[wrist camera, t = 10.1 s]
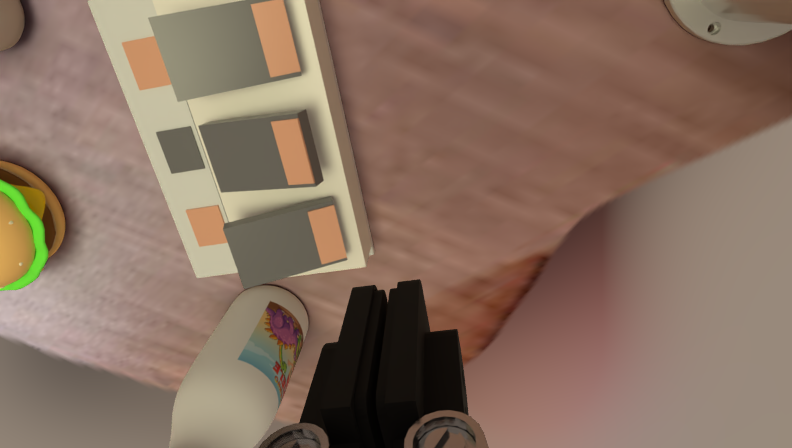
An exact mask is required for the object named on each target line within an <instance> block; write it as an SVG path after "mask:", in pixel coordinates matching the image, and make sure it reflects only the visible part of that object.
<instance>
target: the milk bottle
mask: <svg viewBox="0 0 792 448" xmlns="http://www.w3.org/2000/svg"><path fill="white" fill-rule="evenodd" d="M308 325H309V322H308V316H307V312H306V310H305V308H304V306H303V304H302V303H301V302H300V300H299V299H298V298H297V297H296V296H295V295H293V294H292V293H290V292H289V291H287V290H284V289H282V288H280V287H276V286H270V285H261V286H256V287H252V288H249V289H247V290H245V291H243V292H242V293H241V294H240V295H238V297H237V298H236V299H235V300H234V302H233V303H232V305H231V306H230V307H229V309H228V310H227V312H226V313H225V315H224V316H223V318H222V319H221V321H220V323H219V324H218V326H217V327H216V329H215V330H214V332H213V333H212V335H211V336H210V338H209V339H208V341H207V342H206V344H205V345H204V347H203V349H202V350H201V352H200V353H199V355H198V356H197V358H196V359H195V361H194V363H193V364H192V366H191V368H190V369H189V371H188V373H187V374H186V376H185V378H184V380H183V382H182V384H181V386H180V388H179V390H178V393H177V396H176V399H175V403H174V408H173V414H172V431H171V439H170V444H169V448H253V447H254V446H255V445H256V444H257V443H258V442H259V441H260V439H261V438H262V437H263V436H264V434H265V433H266V432H267V430H268V428H269V427H270V425H271V423H272V421H273V419H274V417H275V415H276V413H277V410H278V408H279V406H280V403H281V401H282V398H283V396H284V393H285V391H286V388H287V386H288V383H289V380H290V378H291V375H292V372H293V370H294V367H295V364H296V362H297V359H298V356H299V354H300V351H301V348H302V346H303V343H304V340H305V337H306V334H307V331H308Z"/></svg>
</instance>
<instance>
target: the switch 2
mask: <svg viewBox="0 0 792 448" xmlns="http://www.w3.org/2000/svg"><path fill="white" fill-rule="evenodd" d="M223 231H224V234H225V236H226V239H227V242H228V245H229V248H230V251H231V253H232V256H233V259H234V262H235V265H236V267H237V270H238V273H239V276H240V279H241V282H242V284H243V287H244V289H247V288H251V287H254V286H258V285H261V284H265V283H268V282H272V281H275V280H279V279H283V278H286V277H290V276H293V275H297V274H300V273H304V272H307V271H311V270H314V269H318V268H321V267H325V266H328V265H332V264H336V263H339V262H343V261H346V260H347V255H346V251H345V247H344V243H343V239H342V235H341V231H340V227H339V223H338V219H337V215H336V211H335V207H334V203H333V200H332V198H331V196H329V197H325V198H321V199H317V200H313V201H310V202H306V203H302V204H298V205H294V206H290V207H286V208H282V209H279V210H275V211H271V212H267V213H263V214H259V215H255V216H251V217H248V218H244V219H240V220H236V221H232V222H228V223H224V227H223Z"/></svg>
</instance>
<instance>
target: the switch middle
mask: <svg viewBox="0 0 792 448" xmlns="http://www.w3.org/2000/svg"><path fill="white" fill-rule="evenodd" d="M198 127H199V130H200V133H201V136H202V139H203V142H204V144H205V147H206V150H207V153H208V156H209V159H210V162H211V165H212V168H213V171H214V173H215V176H216V179H217V182H218V185H219V188H220V191H221V193H223V192H239V191H255V190H272V189H288V188H304V187H316V186H318V185H319V184H320V183H321V182H323V181H324V179H323V175H322V171H321V167H320V163H319V159H318V155H317V151H316V147H315V143H314V139H313V135H312V131H311V127H310V123H309V119H308V115H307V111H306V109H303V110H295V111H287V112H279V113H272V114H264V115H256V116H248V117H241V118H233V119H225V120H217V121H209V122H207V123H204V124H202V125H199V126H198Z"/></svg>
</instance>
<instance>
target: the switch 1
mask: <svg viewBox="0 0 792 448" xmlns="http://www.w3.org/2000/svg"><path fill="white" fill-rule="evenodd" d="M148 19H149V22H150V25H151V28H152V30H153V33H154V36H155V39H156V42H157V45H158V47H159V50H160V53H161V56H162V59H163V61H164V64H165V67H166V70H167V73H168V76H169V78H170V81H171V84H172V87H173V90H174V93H175V95H176V98H177V101H178V102H180V101H185V100H190V99H194V98H199V97H204V96H209V95H213V94H218V93H223V92H227V91H232V90H237V89H242V88H246V87H251V86H256V85H260V84H265V83H270V82H275V81H279V80H284V79H289V78H294V77H298V76H302V74H301V69H300V65H299V61H298V57H297V53H296V49H295V45H294V41H293V37H292V33H291V29H290V25H289V21H288V17H287V13H286V9H285V5H284V1H283V0H242V1H237V2H231V3H226V4H220V5H215V6H209V7H204V8H198V9H193V10H187V11H182V12H176V13H171V14H165V15H160V16H154V17H149V18H148Z"/></svg>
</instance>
